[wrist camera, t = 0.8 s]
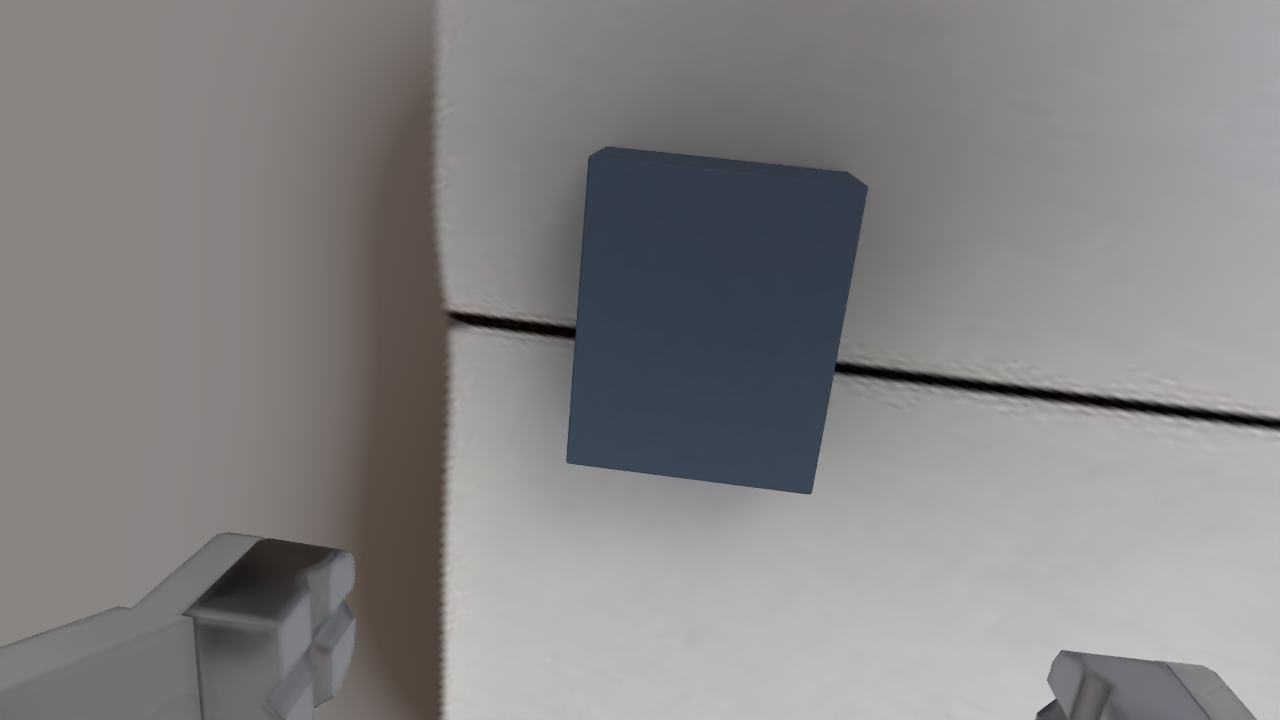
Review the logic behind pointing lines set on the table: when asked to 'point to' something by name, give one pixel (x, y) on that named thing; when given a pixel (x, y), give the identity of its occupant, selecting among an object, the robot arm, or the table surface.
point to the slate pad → (710, 316)
